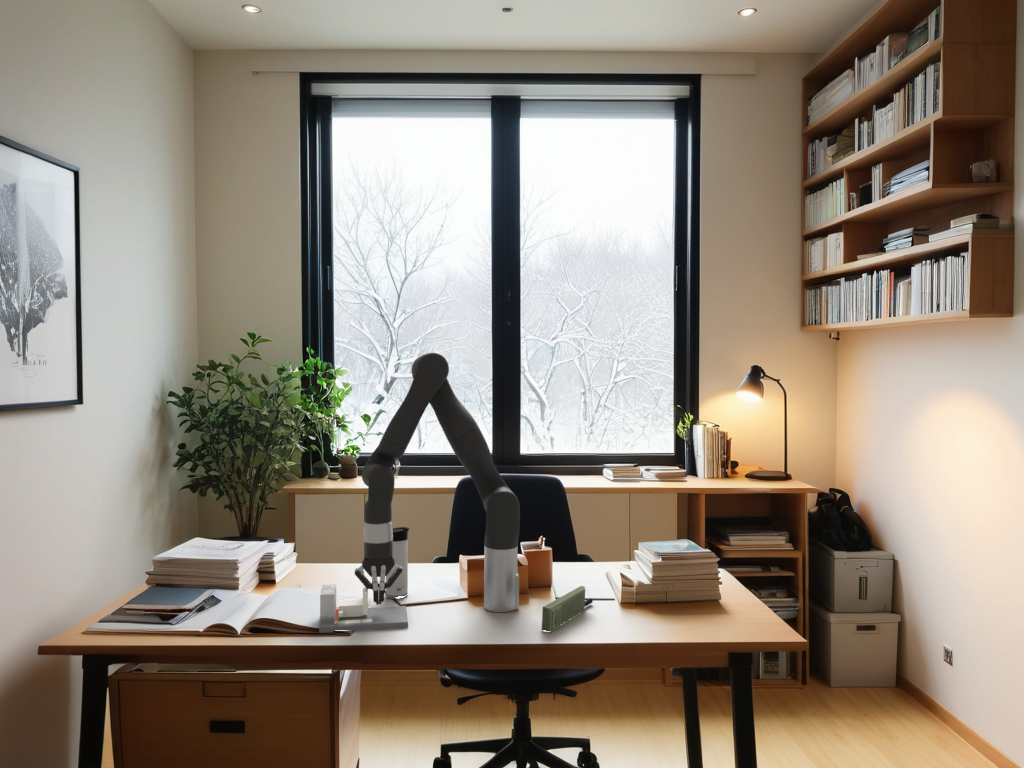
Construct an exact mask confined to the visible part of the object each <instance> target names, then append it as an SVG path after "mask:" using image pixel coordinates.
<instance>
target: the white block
mask: <svg viewBox="0 0 1024 768" xmlns="http://www.w3.org/2000/svg"><path fill="white" fill-rule="evenodd" d="M362 586H363V587H362V598H353V599H352V598H350V599H349V598H348V599H340V600H339V605H338V607H339V618H343V617H360V616H363V615H368V608H369V604H368V603H369V589H367V588H366V587H365V586H364V585H363V584H362Z"/></svg>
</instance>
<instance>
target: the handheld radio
mask: <svg viewBox="0 0 1024 768" xmlns="http://www.w3.org/2000/svg"><path fill="white" fill-rule="evenodd" d="M593 602H594V601H593V598H588V599H587V600H586V586H584V585H580V586H578V587H576V588H573V590H571V591H569V592H568V593H566V594H564V595H562V596H560V597H558V598H556V599H554V600H553V601H551V602H549V603H547V604H546V605H544V606H542V613H541V614H542V615H541V631H542V630H546V631H552V630H553V631H555V630H556V629H555V628H557V627H558V628H560V627H561V626H562V625H561V624H563V623H564V622H566V621H568V620H569V619H571V618H573V617H574V616H576V615H577V616H579V615H580V614H579V613H581V612H582V613H584V612H585V608H586V607H587V606H589V605H591V604H592V603H593ZM583 611H584V612H583ZM582 613H581V614H582ZM578 614H579V615H578ZM577 616H576V617H577ZM574 618H575V617H574ZM574 618H573V619H574ZM571 620H572V619H571ZM569 621H570V620H569ZM569 621H568V622H569ZM566 623H567V622H566ZM560 625H561V626H560ZM563 625H564V624H563ZM559 626H560V627H559ZM558 628H557V629H558ZM554 629H555V630H554ZM553 631H552V632H553Z"/></svg>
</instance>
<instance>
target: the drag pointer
mask: <svg viewBox="0 0 1024 768" xmlns="http://www.w3.org/2000/svg"><path fill="white" fill-rule="evenodd" d="M338 621H339V606H336V609H335V624H338Z"/></svg>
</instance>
